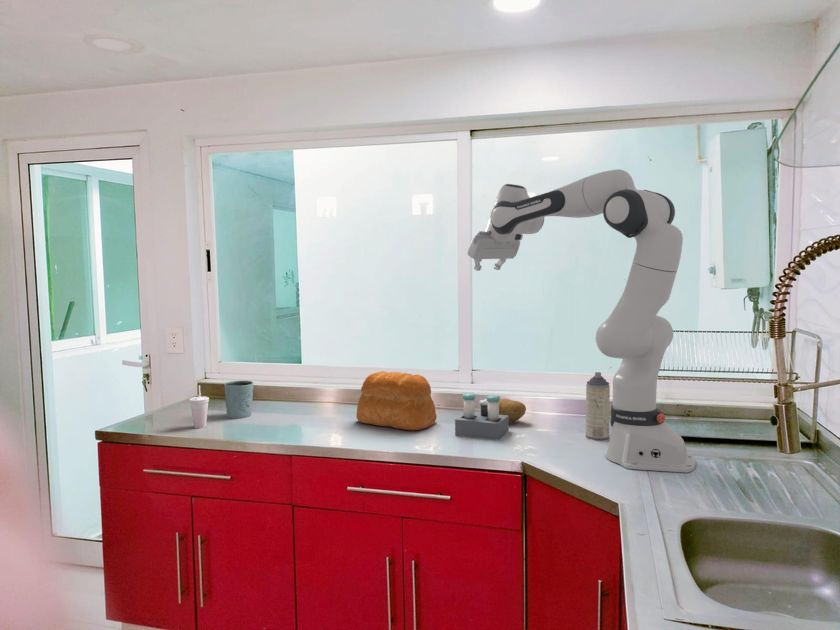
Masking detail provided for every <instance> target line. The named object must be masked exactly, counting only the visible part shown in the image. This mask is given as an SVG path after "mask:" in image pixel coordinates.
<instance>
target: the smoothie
mask: <svg viewBox="0 0 840 630" xmlns="http://www.w3.org/2000/svg"><path fill="white" fill-rule="evenodd" d="M201 395H202V393H201V385H198V396H193V397H191V398H189V400H188V403H189V404H190V405H189V406H190V410H191V415H192V421H193V426H194V428H195V429H203V428H205V427H207V420H208V411H209V407H208V406H209V402H210V398H209V397H208V396H201Z"/></svg>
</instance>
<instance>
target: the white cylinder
mask: <svg viewBox="0 0 840 630" xmlns="http://www.w3.org/2000/svg"><path fill="white" fill-rule="evenodd" d="M462 399H463V414H464V418H474V412H475V399H476V394H475V393H473V392H472V393H471V392H468V393H467V392H466V393H463V394H462Z"/></svg>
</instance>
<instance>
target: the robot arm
mask: <svg viewBox="0 0 840 630" xmlns="http://www.w3.org/2000/svg"><path fill="white" fill-rule="evenodd" d="M675 209H676V208H675V205H674V202H672V200H671V199H670V198H668V197H667V196H665V195H663V194H662V193H659V192H655V191H651V190H647V189H637V188H636V186H635V181H634V179H633V178H632V176H631V175H630V173H628V172H627V171H626V170H624V169H612V170H611V169H610V170H607V171H601V172H597V173H594V174H591V175H589V176H586V177H583V178H580V179H579V180H575V181H573V182H571V183H569V184H566V185H563V186H561V187H558V188H555V189H553V190H550V191H548V192H545V193H542V194H537V195H535V196H529V193H528V191H527V188H526V187H525V186H522V185H519V184H511V183H506V184H503V185H502V187H501V188H500V190H499V192H498V193H497V196H496V199H495V201H494V205H493V208H492V210H491V211H490V215H489V216H490V217H489V219H488V222H487V226H486V229H485V231H483V230H481V231H479V232H477V233H476V234H475V235H474V237H473V238H472V240H471V242H470V245H469V247H468V250H467V255H468V256H469V258H471V259H473V262H474V267H473V270H475V271H477V272H478V271H481V270H482V265H481V262H482V260H498V261H497V262H496V263H494V265H493V269H494V270H496V271H500V270H501V268H502V266H503V265H504V264H505V263H506V262H507V261H506V260H510V259H512V260H513V259H514V258H515V257H516V256H517V254H518V251H519V249H520V245H521V241H522V240H523V237H524V235H533V234H537V233H538V232H539V231H540V230H541V229H542V227H544V223H545V217H561V218H562V217H563V218H576V219H578V218H581V219H582V218H591V217H595V216H599V215H603V219H604V221H605V223H607V225H608V226H609V227H611V229H613V230H615V231H617V232H618V233H621V234H622V235H623V236H624V237H627V238H628V239H631V238H634V240H635V242H636V248H635V252H634V256H633V259H632V263H631V265H630V266H631V267H630V271H629V273H628V276H627V280H626V284H625V287H624V290H623V292H622V294H621V296H620V298H619V300H618V301H617V304H616V305H615V307H614V309H613V310H612V312H611V314H609V316H608V317H607V319H606V320H604V322H602V324H600V325H599V326H598V328H597V330H596V332H595V343H596V346H597V348H598V350H599V352H601V353H602V354H603V355H604V356H606V357H609V358H614V359H619V360H622V361H621V363H620V365H619V368H618V370H617V372H615V373H614V375H613V379H612V404H611V407H610V409H609V424H610V426H611V427H610V434H609V443H608V446H607V449H606V452H605V457H606V459H607V460H609V461H610V462H613V463H615V464H619V465H621V466H622V467H623V468H625V469H628V470H642V471H658V472H672V473H690V472H693V471H694V470H695V468H696V466H697V464H696V459H695V457H693V455H691V454H689V453H687V451H688V450H687V446H686V443H685V441H684V439H683V438H682V436H681V435H680V434H678V433H677V432H676V431H674V430H673V429H672V428H671V427H669V426H668V425H667V424H666V423H665V421H666V416H665V413H664V410H663V409H659V408H657V389H658V377H659V372H660V369H661V366H662V361H663V359H664V356H665V352H666V350H667V349H668V347H669V346H670V344H671V343H672V341H673V339H674V329H673V326H672V325H671V323H670V321H668V320H667V319H666V318H665V317H663V316H659V315H658V313H659V312H660V310H661V309H662V308H663V306H665V305H666V304H667V303H668V301H669V300H670V297H671V295H672V291H673V286H674V284H675V280H676V277H677V273H678V269H679V266H680V262H681V255H682V250H683V240H684V239H683V236H684V235H683V233H682V231H681V230H680V229H679V228H678V227H677V226H676V225H673V224H672V223H673V221H674V219H675V217H676V210H675Z"/></svg>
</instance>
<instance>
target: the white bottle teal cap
mask: <svg viewBox="0 0 840 630" xmlns="http://www.w3.org/2000/svg"><path fill="white" fill-rule="evenodd" d="M500 397H501V396H499V395H495V394H494V395H493V394H492V395H490V394H489V395H487V396H486V399H487V401H488V420H490V421H497V420H499V401H500Z"/></svg>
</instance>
